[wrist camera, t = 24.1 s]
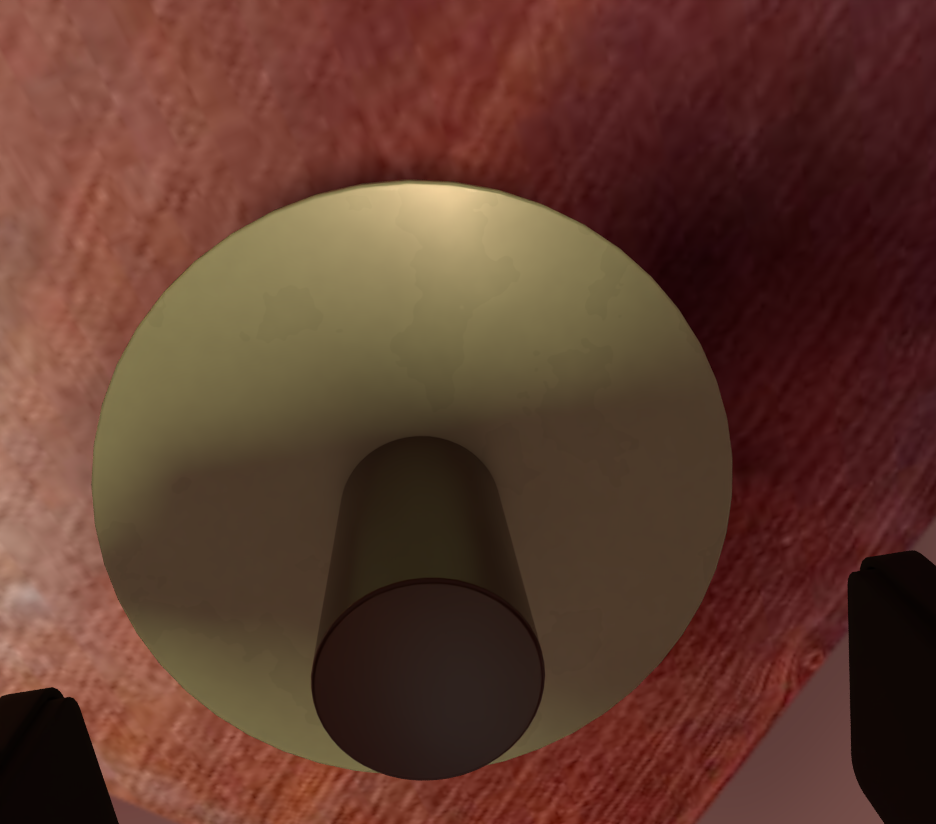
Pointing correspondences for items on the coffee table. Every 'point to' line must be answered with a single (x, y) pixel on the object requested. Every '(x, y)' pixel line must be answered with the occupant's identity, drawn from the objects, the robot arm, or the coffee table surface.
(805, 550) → the coffee table surface
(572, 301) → the lid
